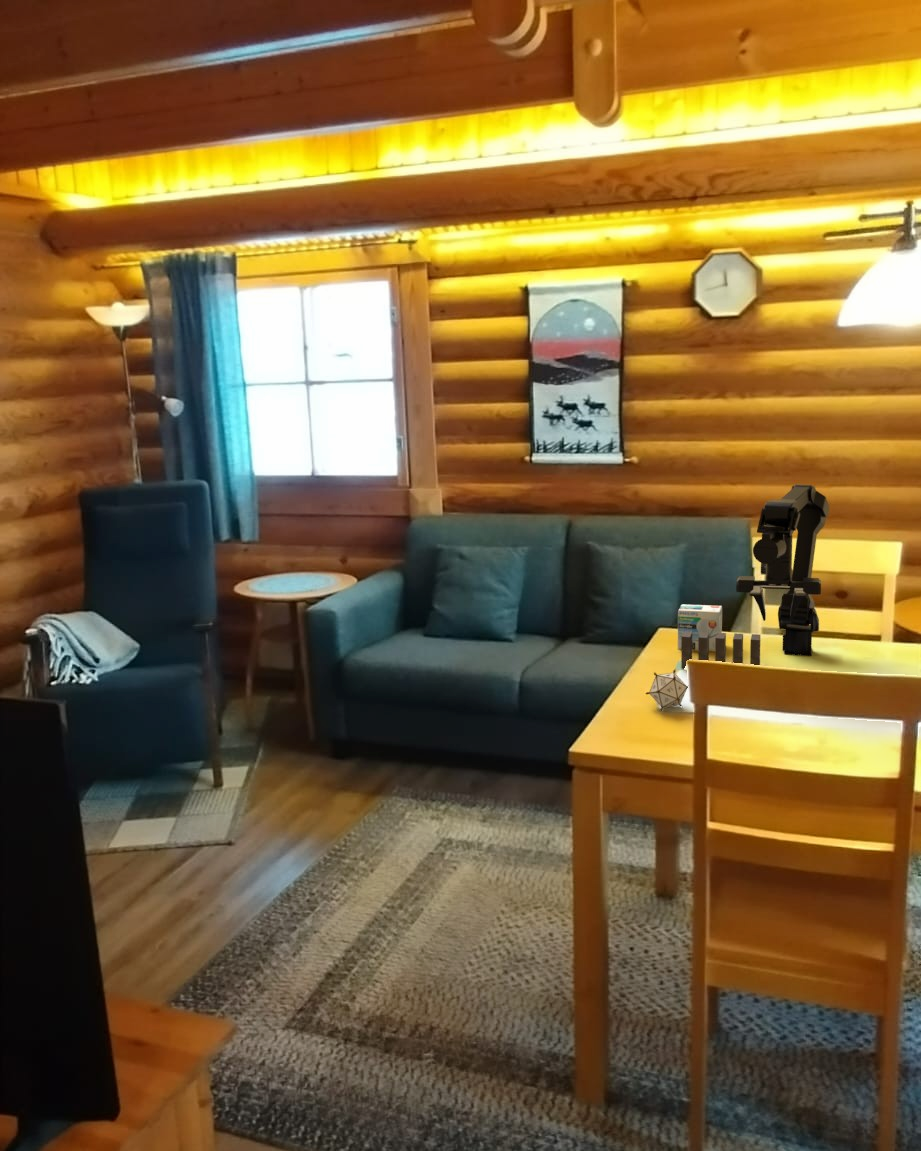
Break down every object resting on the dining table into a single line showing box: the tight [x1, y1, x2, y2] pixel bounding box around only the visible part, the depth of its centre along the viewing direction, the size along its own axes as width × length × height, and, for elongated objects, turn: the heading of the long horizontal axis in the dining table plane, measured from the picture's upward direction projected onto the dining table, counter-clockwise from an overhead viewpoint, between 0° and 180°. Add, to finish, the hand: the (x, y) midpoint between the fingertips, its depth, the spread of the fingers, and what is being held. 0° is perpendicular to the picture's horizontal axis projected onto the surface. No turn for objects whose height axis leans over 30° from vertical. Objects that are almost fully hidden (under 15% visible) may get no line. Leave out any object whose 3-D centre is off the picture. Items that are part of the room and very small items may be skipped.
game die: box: [645, 669, 689, 712], centre depth 220 cm, size 9×8×10 cm
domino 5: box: [749, 633, 761, 665], centre depth 242 cm, size 2×5×8 cm, turn 161°
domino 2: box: [697, 632, 710, 661], centre depth 246 cm, size 2×5×8 cm, turn 161°
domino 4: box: [732, 633, 744, 664], centre depth 244 cm, size 2×5×8 cm, turn 161°
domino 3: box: [714, 632, 727, 662], centre depth 245 cm, size 2×5×8 cm, turn 161°
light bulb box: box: [677, 603, 723, 652], centre depth 263 cm, size 11×7×11 cm, turn 70°
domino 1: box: [680, 631, 693, 669], centre depth 248 cm, size 2×5×8 cm, turn 161°
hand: (777, 620), depth 239 cm, fingers open, 6 cm apart
